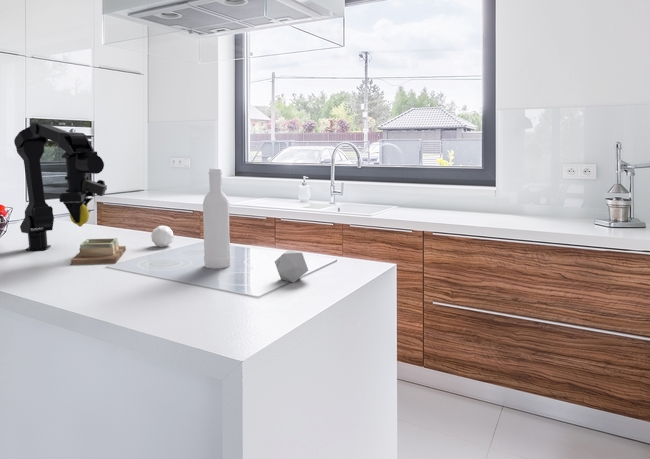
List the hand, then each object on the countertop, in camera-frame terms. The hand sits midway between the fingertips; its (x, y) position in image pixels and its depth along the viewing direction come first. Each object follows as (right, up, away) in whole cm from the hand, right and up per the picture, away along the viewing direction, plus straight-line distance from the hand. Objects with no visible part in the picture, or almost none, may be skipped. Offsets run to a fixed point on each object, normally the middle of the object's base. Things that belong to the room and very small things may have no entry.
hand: (80, 221), depth 167 cm
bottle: (+46, -14, -7) cm, 48 cm away
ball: (+20, -9, +22) cm, 31 cm away
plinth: (+5, -12, +4) cm, 13 cm away
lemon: (0, -2, 0) cm, 2 cm away
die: (+69, -17, -22) cm, 75 cm away
